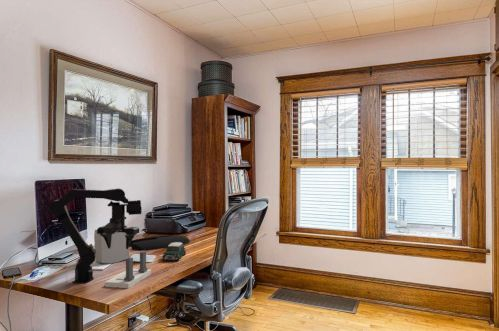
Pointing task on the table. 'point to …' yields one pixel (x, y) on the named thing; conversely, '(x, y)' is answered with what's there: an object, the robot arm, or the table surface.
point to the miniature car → (174, 251)
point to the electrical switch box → (111, 248)
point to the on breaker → (143, 262)
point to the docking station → (157, 242)
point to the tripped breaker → (129, 269)
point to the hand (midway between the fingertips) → (118, 248)
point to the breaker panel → (121, 283)
